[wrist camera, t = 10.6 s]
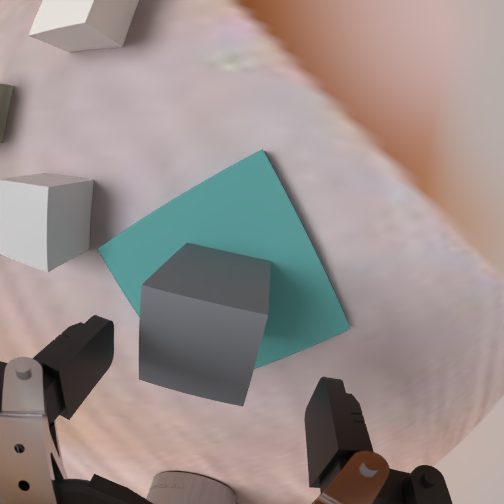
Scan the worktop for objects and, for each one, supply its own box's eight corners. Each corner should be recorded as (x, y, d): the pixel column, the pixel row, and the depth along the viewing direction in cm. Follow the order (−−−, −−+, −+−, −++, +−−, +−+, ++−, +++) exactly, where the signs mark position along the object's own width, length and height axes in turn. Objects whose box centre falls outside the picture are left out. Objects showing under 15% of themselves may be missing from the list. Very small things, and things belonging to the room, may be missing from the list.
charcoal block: (270, 260, 16) (268, 315, 10) (252, 333, 17) (243, 406, 11) (186, 242, 16) (141, 284, 10) (177, 315, 17) (139, 379, 11)
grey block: (94, 179, 16) (48, 187, 12) (89, 249, 18) (47, 272, 13) (45, 173, 16) (-2, 179, 12) (42, 236, 18) (-1, 254, 13)
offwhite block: (143, -9, 13) (114, -42, 8) (123, 47, 14) (85, 22, 10) (89, -1, 13) (55, -25, 8) (69, 52, 14) (28, 35, 10)
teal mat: (347, 320, 18) (350, 328, 17) (196, 380, 20) (192, 389, 19) (263, 150, 15) (262, 149, 14) (105, 244, 17) (97, 248, 16)
